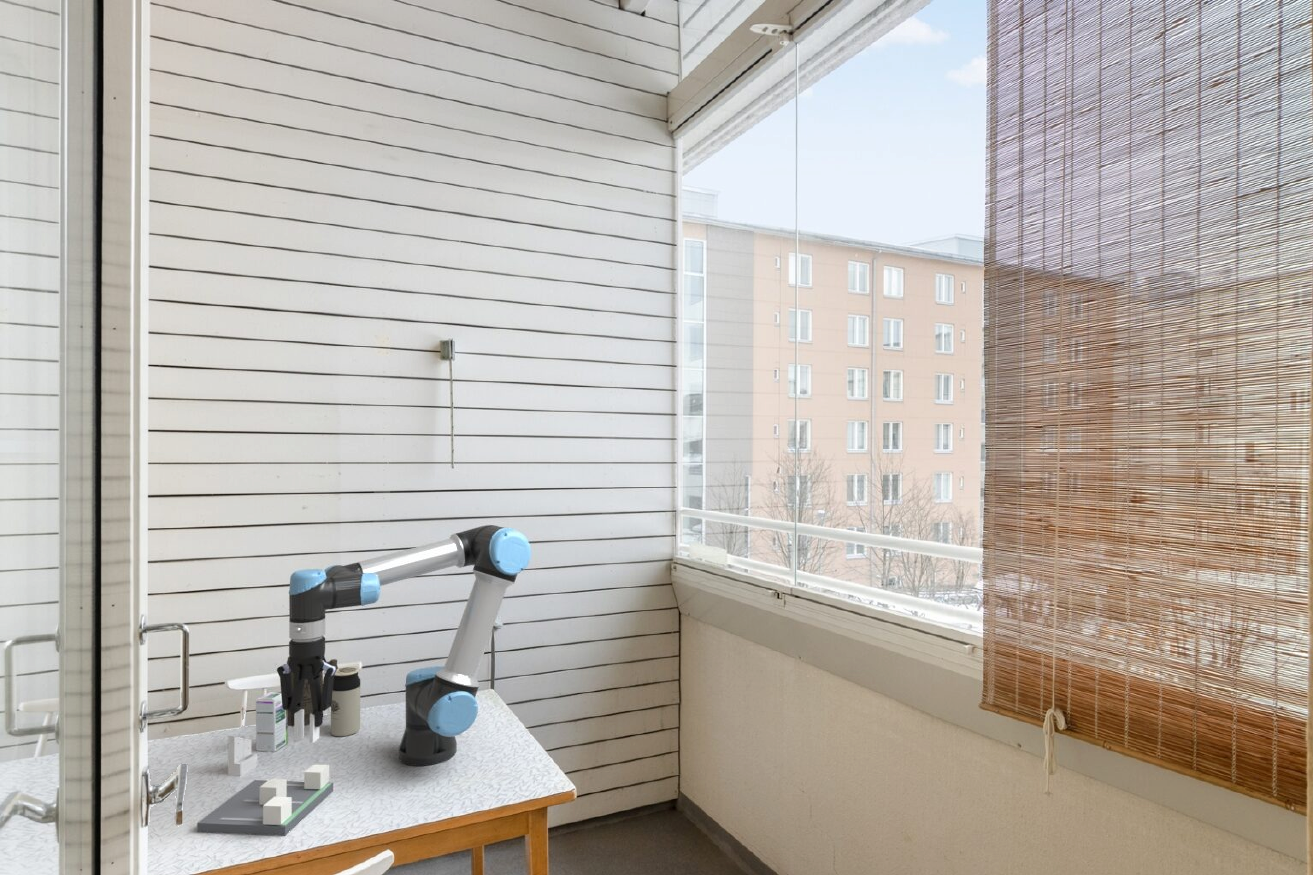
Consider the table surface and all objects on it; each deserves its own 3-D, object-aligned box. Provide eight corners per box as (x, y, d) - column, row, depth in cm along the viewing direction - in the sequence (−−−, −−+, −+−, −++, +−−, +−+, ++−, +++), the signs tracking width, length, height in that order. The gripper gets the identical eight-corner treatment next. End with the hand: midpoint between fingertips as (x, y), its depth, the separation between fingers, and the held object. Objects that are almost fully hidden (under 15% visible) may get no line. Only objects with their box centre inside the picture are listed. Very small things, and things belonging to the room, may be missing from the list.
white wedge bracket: (214, 772, 179) (228, 735, 184) (241, 776, 188) (253, 741, 192) (227, 774, 179) (240, 736, 183) (253, 778, 187) (265, 742, 192)
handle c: (291, 815, 159) (291, 797, 159) (280, 824, 155) (280, 806, 155) (274, 814, 160) (274, 796, 160) (263, 824, 156) (263, 805, 156)
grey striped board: (333, 790, 175) (333, 782, 175) (285, 835, 155) (285, 825, 155) (254, 788, 177) (254, 779, 177) (197, 832, 157) (197, 822, 157)
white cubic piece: (329, 781, 175) (329, 764, 175) (320, 789, 171) (320, 772, 171) (313, 780, 176) (313, 764, 176) (304, 788, 172) (304, 771, 172)
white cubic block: (286, 796, 168) (286, 779, 168) (276, 805, 164) (276, 787, 164) (270, 795, 168) (270, 778, 168) (259, 804, 164) (259, 786, 164)
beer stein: (280, 728, 213) (285, 661, 213) (283, 716, 223) (288, 651, 223) (337, 724, 219) (342, 658, 220) (337, 712, 229) (342, 649, 229)
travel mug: (354, 724, 217) (354, 664, 217) (364, 731, 211) (364, 670, 211) (326, 731, 211) (327, 669, 212) (336, 739, 206) (336, 676, 206)
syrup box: (275, 752, 197) (275, 699, 197) (255, 751, 198) (255, 698, 198) (288, 743, 203) (288, 692, 203) (268, 742, 203) (268, 691, 203)
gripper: (263, 641, 162) (263, 745, 162) (332, 643, 161) (332, 747, 161) (283, 632, 170) (282, 732, 170) (349, 634, 169) (348, 734, 169)
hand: (306, 739), depth 165 cm, fingers open, 3 cm apart
